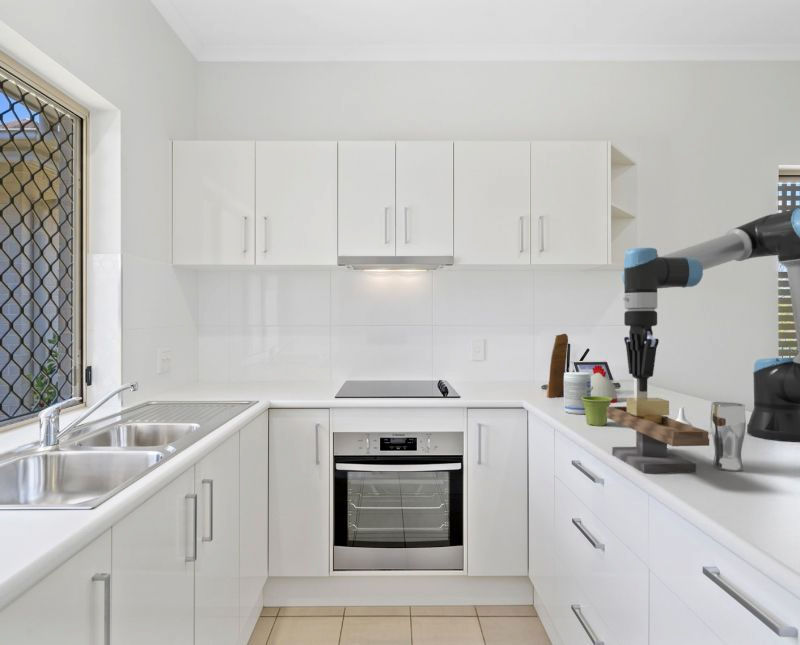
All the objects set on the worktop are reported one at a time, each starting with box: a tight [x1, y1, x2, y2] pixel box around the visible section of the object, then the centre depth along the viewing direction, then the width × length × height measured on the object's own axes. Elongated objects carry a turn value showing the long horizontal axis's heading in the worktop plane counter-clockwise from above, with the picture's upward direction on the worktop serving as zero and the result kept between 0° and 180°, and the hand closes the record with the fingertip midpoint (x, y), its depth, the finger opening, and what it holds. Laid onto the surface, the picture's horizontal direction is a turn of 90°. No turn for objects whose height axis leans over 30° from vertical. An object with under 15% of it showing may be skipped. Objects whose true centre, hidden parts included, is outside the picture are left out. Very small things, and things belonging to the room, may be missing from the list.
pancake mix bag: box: [546, 333, 569, 399], centre depth 236 cm, size 7×19×28 cm, turn 141°
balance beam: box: [606, 405, 710, 474], centre depth 127 cm, size 32×12×11 cm, turn 2°
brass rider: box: [626, 397, 670, 423], centre depth 128 cm, size 5×8×5 cm, turn 92°
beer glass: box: [709, 401, 747, 473], centre depth 122 cm, size 7×7×15 cm
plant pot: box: [582, 396, 612, 427], centre depth 173 cm, size 9×9×9 cm
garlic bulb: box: [675, 406, 693, 426], centre depth 161 cm, size 6×6×8 cm
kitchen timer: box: [590, 364, 618, 404], centre depth 223 cm, size 14×14×15 cm
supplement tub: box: [563, 371, 591, 415], centre depth 195 cm, size 10×10×15 cm
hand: (640, 403), depth 132 cm, fingers closed
